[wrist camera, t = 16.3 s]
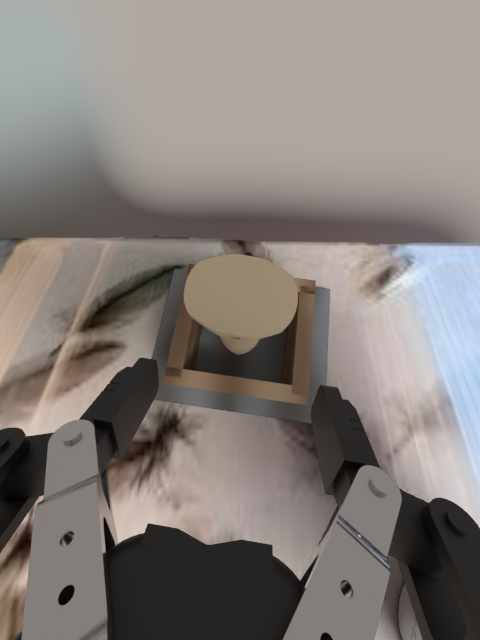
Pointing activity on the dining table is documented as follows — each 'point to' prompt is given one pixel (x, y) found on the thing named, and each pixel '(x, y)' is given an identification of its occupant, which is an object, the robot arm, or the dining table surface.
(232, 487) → the dining table surface
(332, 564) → the robot arm
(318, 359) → the socket holder
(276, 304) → the handle
